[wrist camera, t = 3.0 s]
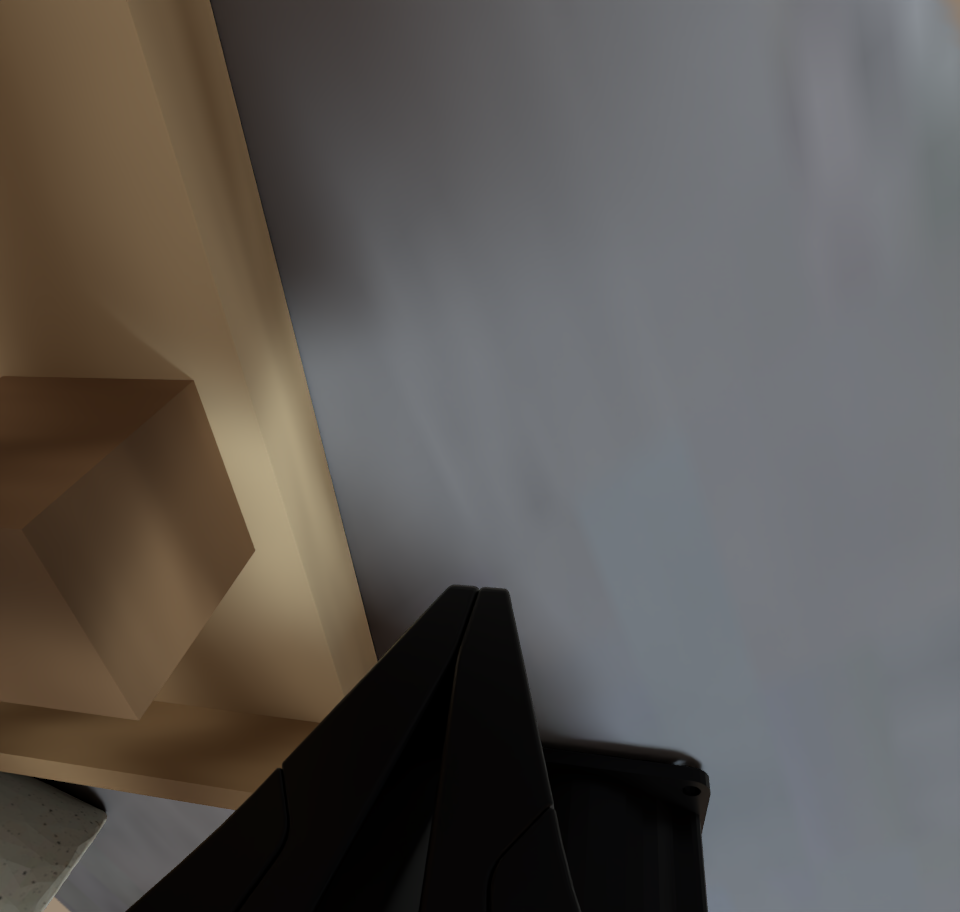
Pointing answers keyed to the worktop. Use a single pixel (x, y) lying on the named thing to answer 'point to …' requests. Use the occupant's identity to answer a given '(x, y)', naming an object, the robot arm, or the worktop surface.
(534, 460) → the worktop surface
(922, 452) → the worktop surface
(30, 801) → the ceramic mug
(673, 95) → the worktop surface
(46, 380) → the walnut block
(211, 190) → the track
